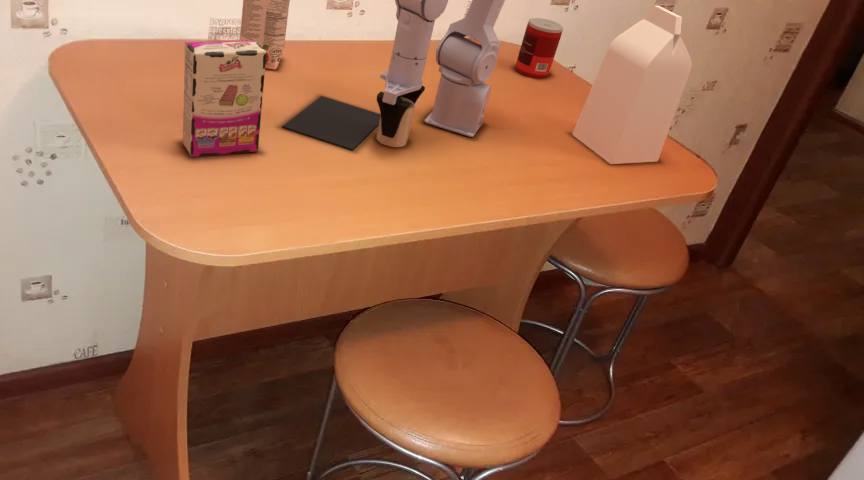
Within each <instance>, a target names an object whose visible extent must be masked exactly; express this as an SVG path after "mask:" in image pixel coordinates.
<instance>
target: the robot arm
mask: <svg viewBox="0 0 864 480" xmlns="http://www.w3.org/2000/svg"><path fill="white" fill-rule="evenodd" d="M394 2H395V5H396V13H395V17H396V20H397V25H396V30H395V35H394V41H393V45H392V51H391V56H390V59H389V60H390V61H389V66H388V71H386V70H385V71H382V72H381V73H380V75H379V78H380V79H382V80H384V81H385V89H384V90H383V91H379V92H378V93H377V95H376V103H377V105H378V109H379V112H380V113H379V114H381V130H382V135H384V136H387V137H390V138H394V136H395V135H396V133H397V130H398V127H399V125H400V122H401V119H402V117H403V115H404V113H405V112H406V110H407V109H408V107H409V106H410V105H411V104H412V103H410V102H407V101H403V100H402V98H401V97H403V98H407V99H409V100H411V101H412V102H413V103H414V104H415V105H416V103H417V101H418V99H419V98H420V97H421V95H422V94H423V93H424V92H425V90H426V87H425V86H424V85H423V76H424V71H425V67H426V64H427V63H426V62H427V59H428V53H429V49H430V44H431V41H432V36H433V32H434V27H435V22H436V20H437V19H439V18H440V17H441V15H442V14H443V13H444V12H445V10H446V8H447V5H448V2H449V0H394ZM505 2H506V0H471V2H470V5H469V8H468V10H467V12H466V14H465V17H464V18H461V19H459V20H457V21H454V22H452V23H450V24H449V26H448V29H447V31H446V32H445V34H444V36H443V37H442V38H441V39H440V41H439V42H438V44H437V47H436V49H435V50H436V51H435V62H436V64H437V65H438V70H437V71H438V72H439V73H440V77H439V81H438V86H437V90H436V93H435V98H434V102H433V103H434V104H433V107H432V111H431V112H430V113H429V114H428V115H427V117H426V118H425V119H424V121H423V122H424V123H425V124H427V125H430V126H433V127H437V128H440V129H444V130H447V131H450V132H452V133H456V134H459V135H463V136H466V137H468V138H474V136H476V133H477V132H478V130H479V129H480V128H481V127H482V125H483V122H484V119H485V114H486V110H487V106H488V102H489V99H490V95H491V92H492V86H491V85H489V84H487V83H485V82H486V81H487V80H488V79H490V78H491V76H492V75H493V73H494V71H495V69H496V66H497V61H498V55H499V52H500V49H501V47H502V44H501V42H500V40H499V38H498V36H497V34H496V31H495V30H494V28H495V25H496V22H497V20H498V19H499V15H500V13H501V10H502V9H503V6H504V4H505ZM467 37H468V38H470V39H468V38H467ZM471 39H473V40H471ZM474 40H475V41H474ZM476 41H477V42H478V43H477V42H476Z"/></svg>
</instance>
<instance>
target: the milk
mask: <svg viewBox="0 0 864 480" xmlns="http://www.w3.org/2000/svg"><path fill="white" fill-rule="evenodd" d="M682 22H683V16H681V15H679V14H677V13H675V12H673V11H671V10H668V9H666V8H665V7H663V6H661V5H653V6H652V7H651V8H650V9H649V11H648V12H647V13H646V14H645V16H644V17H643V19H641V20H639V21H638V22H636V23H634V25H632V26H631V27H629V28H628V29H626V30H625V31H623V32H622V33H620V34H619V35H618V36H616V37H615V38H614V39H613V40H612V41H611V42H610V44H609V45H608V48H607V50H606V51H605V55H604V57H603V59H602V61H601V64H600V67H599V69H598V71H597V74H596V76H595V79H594V80H593V83H592V86H591V88H590V90H589V93H588V94H587V96H586V100H585V102H584V105H583V106H582V110H581V111H580V115H579V117H578V119H577V121H576V124H575V126H574V129H573V131H572V134H571V135H572V137H574V138H576V139H577V140H578V141H580V142H581V143H582V144H583V145H585V147H588V149H590V150H591V151H593V152H594V153H595V154H597V156H599V157H601V159H603V160H604V161H606V162H607V163H608V164H610V165H618V164H620V165H622V164H637V163H639V164H640V163H655V162H656V163H658V162H659V159H660V157H661V153H662V151H663V148H664V145H665V143H666V140H667V137H668V135H669V131H670V129H671V126H672V123H673V121H674V118H675V115H676V113H677V110H678V107H679V104H680V101H681V99H682V97H683V94H684V90H685V88H686V85H687V82H688V79H689V77H690V74H691V71H692V69H693V62H692V57H691V55H690V53H689V51H688V48H687V47H686V45H685V42H684V41H683V38H682V36H681V35H682V32H681V31H682Z"/></svg>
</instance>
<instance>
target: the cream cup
mask: <svg viewBox="0 0 864 480" xmlns="http://www.w3.org/2000/svg"><path fill="white" fill-rule="evenodd" d="M401 98H402V100H403V101H407V102H410V103H412V104H411V105H410V106H409V107H408V109H407V110H406V112H405V113H404V115H403V117H402V119H401V122H400V125H399V127H398V130H397V133H396V135H395V136H394V138H390V137H387V136H384V135H382V130H381V115H380V120H379V125H378V126H377V132H376V137H375V138H376V140H377V141H378V142H379V143H380V144H381V145H384V146H387V147H390V148H400V147H404V146H406V145H407V142H408V139H409V134H410V131H411V125H412V121H413V116H414V113H415V108H416V107H415V106H416V103H415V104H414V103H413V102H412V101H411V100H409V99H407V98H403V97H401Z"/></svg>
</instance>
